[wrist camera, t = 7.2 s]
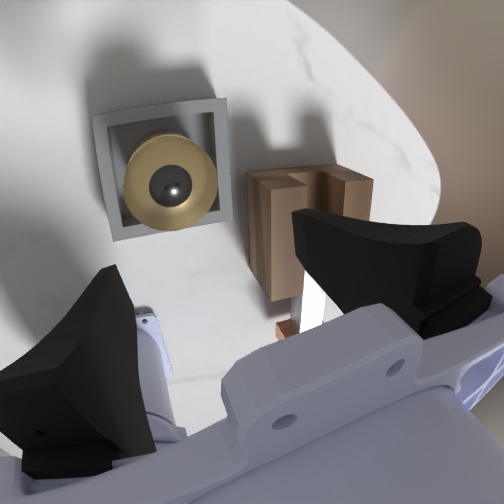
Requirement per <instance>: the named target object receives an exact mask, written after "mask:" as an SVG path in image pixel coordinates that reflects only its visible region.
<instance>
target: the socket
mask: <svg viewBox="0 0 504 504" xmlns="http://www.w3.org/2000/svg"><path fill="white" fill-rule="evenodd" d="M92 123H93V132H94V140H95V147H96V154H97V161H98V167H99V173H100V179H101V185H102V190H103V196H104V201H105V206H106V211H107V215H108V220H109V225H110V229H111V234H112V238H113V242H114V241H119V240H124V239H130V238H135V237H140V236H145V235H151V234H156V233H161V232H167V231H160V230H156V229H152V228H150V227H148V226H146V225H144V224H142V223H141V222H140V221H138V220H137V219H136V218H135V217H134V216H133V214H132V213H131V212H130V210H129V208H128V207H127V204H126V202H125V198H124V194H123V180H124V175H125V172H126V169H127V166H128V163H129V160H130V157H131V154H132V151H133V149H134V147H135V146H136V144H137V143H138V142H139V141H140V140H141V139H142V138H143V137H144V136H146V135H147V134H149V133H151V132H154V131H157V130H174V131H177V132H179V133H181V134H183V135H184V136H186V137H187V138H189V139H190V140H191V141H193V142H194V143H195V144H197V145H198V146H199V147H200V148H202V149H203V150H204V151H205V152H206V153H207V154H208V155H209V157H210V158H211V160H212V161H213V164H214V166H215V168H216V172H217V177H218V188H217V193H216V197H215V200H214V202H213V204H212V206H211V208H210V209H209V211H208V212H207V213H206V214H205V215H204V217H202V218H201V219H200V220H199V221H198V222H196V223H195V224H193V225H191V226H189V227H195V226H201V225H207V224H212V223H218V222H224V221H230V220H233V210H232V193H231V176H230V157H229V138H228V118H227V98H213V99H200V100H190V101H181V102H172V103H164V104H157V105H150V106H143V107H137V108H131V109H125V110H120V111H114V112H109V113H104V114H99V115H95V116H92ZM189 227H187V228H189Z"/></svg>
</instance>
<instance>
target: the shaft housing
mask: <svg viewBox="0 0 504 504" xmlns="http://www.w3.org/2000/svg"><path fill="white" fill-rule="evenodd" d="M246 178H247V203H248V228H249V252H250V270H251V272H252V273H253V275H254V276H255V278H256V279H257V281H258V282H259V284H260V285H261V287H262V288H263V290H264V291H265V293H266V295H267V296H268V298H269V299H270V301H271V302H273V301H277V300H282V299H286V298H290V297H293V296H297V295H301V294H302V293H303V278H304V267H303V266H302V264H301V263H300V261H299V260H298V258H297V257H296V255H295V245H294V234H293V224H292V214H291V212H293V211H296V210H300V209H304V208H309V209H315V210H320V211H325V212H329V213H333V214H338V215H342V216H346V217H351V218H355V219H360V220H365V221H369V217H370V209H371V200H372V190H373V180H374V179H371V178H369V177H367V176H364V175H362V174H360V173H357V172H355V171H353V170H350V169H348V168H345V167H343V166H341V165H338V164H333V165H318V166H305V167H293V168H282V169H272V170H262V171H253V172H246Z"/></svg>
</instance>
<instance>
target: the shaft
mask: <svg viewBox="0 0 504 504" xmlns="http://www.w3.org/2000/svg"><path fill="white" fill-rule="evenodd" d="M325 294H326V293H325V292H324V291H323V290H322V288H321V287H320V286H319V285H318V284H317V283H316V282H315V281H314V280H313V279H312V277H311V276H310V275H309V274H308V273H307V272H306V270H305V269H304V278H303V293H302V294H301V295H297V296H293V297H291V312H290V319H288V320H284V321H280V322H277V323H276V337H277V339H278V340H279V341H280V340H283V339H285V338H288V337H290V336H293V335H296V334H298V333H301V332H303V331H306V330H308V329H311V328H313V327H316V326H318V325H321V324H323V323H324V322H323V320H322V318H323V310H324V302H325Z"/></svg>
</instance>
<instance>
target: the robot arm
mask: <svg viewBox="0 0 504 504" xmlns="http://www.w3.org/2000/svg"><path fill="white" fill-rule="evenodd" d="M291 214H292V224H293V234H294V245H295V255H296V257H297V258H298V260H299V261H300V263H301V264H302V266H303V267H304V269H305V270H306V272H307V273H308V274H309V275H310V276H311V277H312V279H313V280H314V281H315V282H316V283H317V284H318V285H319V286H320V287H321V288H322V290H323V291H324V292H325V293H326V294H327V295H328V296H329V297H330V298H331V299H332V300H333V302H334V303H335V304H336V305H337V306H338V307H339V308H340V310H341V311H342V312H343V314H344V315H342V316H340V317H337V318H335V319H333V320H330V321H328V322H325V323H323V324H321V325H318V326H316V327H313V328H311V329H308V330H306V331H303V332H301V333H298V334H296V335H293V336H290V337H288V338H285V339H283V340H280V341H277V342H275V343H272V344H269V345H266V346H264V347H261V348H259V349H257V350H255V351H253V352H252V353H250V354H248V355H246V356H244V357H243V358H241V359H239V360H238V361H236V363H235V364H234V365H233V366H232V368H231V369H230V370H229V371H228V372H227V374H226V375H225V376H224V377H223V378H222V382H221V397H222V400H223V403H224V406H225V409H226V411H227V414H228V416H227V417H226V418H224V419H222V420H220V421H218V422H216V423H214V424H213V425H211V426H209V427H207V428H205V429H203V430H201V431H199V432H197V433H195V434H193V435H191V436H189V437H187V433H186V430H185V428H184V427H177V426H176V425H175V421H174V416H173V412H172V407H171V402H170V397H169V392H168V387H167V382H166V379H169V378H171V377H173V371H172V368H171V365H170V362H169V359H168V356H167V352H166V349H165V346H164V342H163V339H162V335H161V332H160V328H159V325H158V321H157V318H156V315H155V314H154V313H146V314H141V315H136V316H135V311H134V305H133V303H132V301H131V299H130V297H129V294H128V292H127V290H126V288H125V285H124V283H123V281H122V278H121V276H120V274H119V271H118V269H117V266H116V264H115V265H112V266H108V267H105V268H102V269H101V270H100V271H99V272H98V273H97V274H96V276H95V277H94V278H93V280H92V281H91V282H90V284H89V285H88V287H87V288H86V289H85V291H84V292H83V293H82V295H81V296H80V298H79V299H78V300H77V301H76V303H75V304H74V305H73V307H72V308H71V309H70V310H69V312H68V313H67V314H66V315H65V317H64V318H63V319H62V320H61V321H60V322H59V323H58V324H57V325H56V326H55V328H54V329H53V330H52V331H51V332H50V333H49V334H47V335H46V336H45V337H44V338H43V339H42V340H41V341H40V342H39V343H38V344H37V345H36V346H34V347H33V348H32V349H31V350H29V351H28V352H27V353H26V354H24V355H23V356H22V357H20V358H19V359H18V360H16V361H15V362H14V363H12V364H11V365H9V366H7V367H6V368H4V369H3V370H1V371H0V432H1V433H3V434H4V435H5V436H6V437H7V438H8V439H10V440H11V441H12V442H13V443H14V444H16V445H17V446H18V447H19V448H21V449H22V450H23V454H22V459H21V458H18V457H15V456H0V504H504V449H503V448H502V447H501V446H500V445H499V444H498V442H497V441H496V440H495V439H494V438H493V437H492V435H491V434H490V433H489V432H488V431H487V430H486V429H485V427H484V426H483V425H482V424H481V423H480V422H479V421H478V420H477V418H476V417H475V416H474V415H473V414H472V413H471V412H470V411H469V410H470V409H471V408H472V407H473V406H474V405H475V404H476V403H477V402H478V401H479V400H480V399H481V398H482V397H483V396H484V395H485V394H486V393H487V392H488V391H489V390H490V389H491V388H492V387H493V386H494V385H495V383H497V381H498V380H499V379H500V378H501V377H502V376H503V375H504V274H501V275H500V276H498V277H497V278H496V279H495V280H493V281H492V282H490V283H489V284H488V286H487V287H486V289H485V290H484V289H483V288H482V287H480V286H479V285H480V284H481V280H480V278H478V277H477V276H475V273H476V269H477V265H478V261H479V257H480V253H481V247H482V240H481V235H480V232H479V230H478V229H477V228H475V227H474V226H472V225H470V224H468V223H466V222H458V223H449V224H440V225H397V224H386V223H378V222H371V221H365V220H360V219H355V218H351V217H346V216H342V215H338V214H333V213H329V212H325V211H320V210H315V209H309V208H304V209H300V210H296V211H293V212H291ZM143 319H147V320H146V321H143Z"/></svg>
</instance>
